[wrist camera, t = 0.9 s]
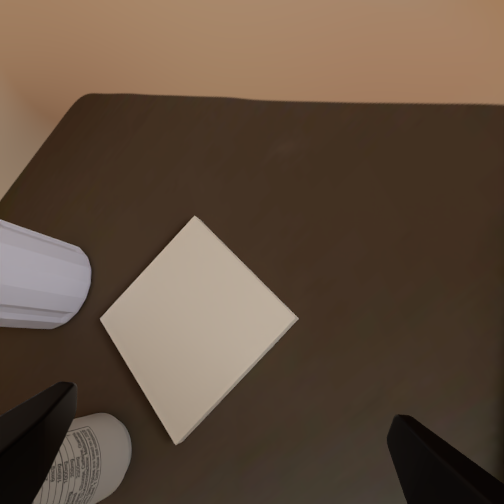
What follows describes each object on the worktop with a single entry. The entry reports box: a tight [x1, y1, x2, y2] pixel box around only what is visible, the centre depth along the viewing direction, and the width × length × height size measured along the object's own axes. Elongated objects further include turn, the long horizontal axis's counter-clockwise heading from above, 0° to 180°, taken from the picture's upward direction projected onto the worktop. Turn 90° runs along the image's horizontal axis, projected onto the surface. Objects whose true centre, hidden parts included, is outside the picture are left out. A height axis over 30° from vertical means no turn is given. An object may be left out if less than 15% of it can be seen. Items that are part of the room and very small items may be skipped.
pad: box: [100, 216, 299, 445], centre depth 26 cm, size 13×13×1 cm
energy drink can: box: [32, 413, 132, 504], centre depth 19 cm, size 6×6×15 cm
